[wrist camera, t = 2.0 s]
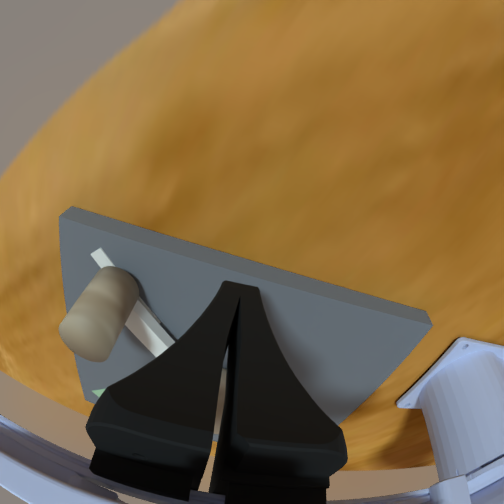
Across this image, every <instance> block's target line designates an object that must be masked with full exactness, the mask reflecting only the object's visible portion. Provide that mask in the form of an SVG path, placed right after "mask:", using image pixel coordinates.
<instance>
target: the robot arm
mask: <svg viewBox="0 0 504 504" xmlns="http://www.w3.org/2000/svg"><path fill="white" fill-rule="evenodd" d="M227 347H228V356H227V371H226V388H225V399H224V407H223V413H222V419H221V425H220V431H219V436H218V442H217V448H216V454H215V460H214V465H213V471H212V476H211V482H210V487H209V493H207V492H202V491H198V488H199V485H200V482H201V479H202V477H203V474H204V470H205V468H206V465H207V461H208V459H209V455H210V452H211V446H212V440H213V434H214V426H215V418H216V410H217V402H218V395H219V388H220V381H221V374H222V367H223V361H224V358H225V354H226V351H227ZM396 404H397V407H399V408H414V409H422V411H423V415H424V418H425V422H426V426H427V430H428V433H429V437H430V441H431V445H432V450H433V454H434V458H435V463H436V467H437V472H438V477H439V482H438V483H436V484H434V485H432V486H431V487H430V488H427V489H422V490H417V491H412V492H407V493H401V494H394V495H388V496H380V497H372V498H363V499H351V500H336V501H335V500H334V501H326V489H327V488H329V486H330V484H329V476H331V475H332V474H334V473H335V472H337V471H338V470H339V469H341V468H342V467H343V466H344V465H345V464H346V463H347V459H348V457H347V448H346V443H345V439H344V435H343V431H342V429H341V428H340V427H339V426H338V425H337V424H336V423H335V422H334V421H333V420H331V419H330V418H329V417H328V416H327V415H326V414H325V413H324V412H323V411H322V409H321V408H320V407H319V406H318V405H317V404H316V402H315V401H314V400H313V399H312V398H311V396H310V395H309V394H308V392H307V391H306V390H305V388H304V387H303V386H302V384H301V383H300V382H299V380H298V379H297V377H296V376H295V374H294V372H293V371H292V369H291V368H290V366H289V364H288V363H287V361H286V359H285V357H284V355H283V353H282V351H281V350H280V348H279V345H278V343H277V341H276V339H275V337H274V334H273V332H272V329H271V327H270V324H269V321H268V319H267V316H266V313H265V310H264V306H263V303H262V299H261V294H260V290H259V288H258V287H255V286H251V285H246V284H241V283H236V282H232V281H227V280H225V281H223V282H222V284H221V286H220V288H219V290H218V292H217V294H216V295H215V297H214V298H213V300H212V301H211V303H210V304H209V305H208V307H207V308H206V309H205V311H204V312H203V313H202V314H201V316H200V317H199V318H198V319H197V320H196V321H195V322H194V324H193V325H192V326H191V327H190V328H189V329H188V330H187V331H186V332H185V333H184V334H183V335H182V336H181V337H180V338H179V339H178V340H177V341H176V342H175V343H173V344H172V345H171V346H170V347H169V348H168V349H166V350H165V351H164V352H163V353H161V354H160V355H159V356H158V357H156V358H155V359H153V360H152V361H151V362H149V363H148V364H146V365H145V366H143V367H142V368H140V369H139V370H137V371H135V372H134V373H132V374H130V375H129V376H127V377H125V378H123V379H121V380H119V381H117V382H116V383H114V384H112V385H110V386H108V387H107V388H106V389H105V390H104V392H103V393H102V394H101V396H100V397H99V399H98V400H97V402H96V404H95V405H94V407H93V409H92V411H91V414H90V416H89V419H88V422H87V424H86V430H87V433H88V435H89V437H90V438H91V440H92V442H93V443H94V445H95V447H96V449H95V452H94V455H93V458H92V460H89V459H87V458H85V457H82V456H80V455H77V454H75V453H73V452H70V451H68V450H66V449H64V448H62V447H59V446H57V445H55V444H53V443H51V442H49V441H47V440H45V439H43V438H41V437H39V436H37V435H35V434H33V433H31V432H29V431H28V430H26V429H24V428H22V427H21V426H19V425H17V424H15V423H14V422H12V421H10V420H9V419H7V418H5V417H4V416H2V415H1V414H0V486H2V487H3V488H5V489H7V490H8V491H10V492H11V493H13V494H14V495H16V496H17V497H19V498H20V499H22V500H24V501H25V502H27V503H29V504H127V503H125V502H123V501H121V500H120V499H119V498H118V495H117V494H116V493H115V492H112V491H109V490H108V489H111V490H114V491H117V492H119V493H122V494H126V495H129V496H132V497H136V498H139V499H142V500H146V501H149V502H153V503H157V504H504V346H501V345H496V344H491V343H487V342H482V341H478V340H473V339H469V338H465V337H461V338H458V339H457V340H456V341H455V342H454V343H453V344H452V345H451V347H450V348H449V349H448V350H447V351H446V352H445V353H444V354H443V356H442V357H441V358H440V359H439V360H438V361H437V362H436V363H435V364H434V365H433V366H432V367H431V368H430V369H429V371H428V372H427V373H426V374H425V375H424V376H423V377H422V378H421V379H420V380H419V381H418V382H417V383H416V384H415V385H414V386H413V387H412V388H411V389H410V390H408V391H407V392H406V393H405V394H404V395H403V396H402V397H401V398H400V399H399V400H398V401H397V402H396ZM99 485H100V486H99ZM101 486H102V487H101ZM103 487H105V488H103ZM106 488H108V489H106Z"/></svg>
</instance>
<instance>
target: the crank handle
mask: <svg viewBox="0 0 504 504" xmlns="http://www.w3.org/2000/svg"><path fill="white" fill-rule="evenodd" d="M138 298H139V288H138V285H137V283H136V281H135V280H134V279H133V277H132V276H131V275H130V274H128V273H127V272H126V271H124V270H122V269H120V268H118V267H114V266H106V267H103V268H101V269H100V270H99V271H98V272H97V274H96V275H95V276H94V278H93V279H92V280H91V282H90V283H89V284H88V286H87V287H86V288H85V290H84V291H83V292H82V294H81V295H80V297H79V298H78V299H77V301H76V302H75V304H74V305H73V306H72V308H71V309H70V311H69V312H68V314H67V315H66V317H65V318H64V319H63V321H62V322H61V324H60V326H59V334H60V336H61V338H62V340H63V342H64V343H65V344H66V346H67V347H68V348H69V349H70V350H72V351H73V352H74V353H75V354H77V355H78V356H80V357H82V358H84V359H86V360H89V361H92V362H104V361H106V360H107V359H108V357H109V355H110V353H111V351H112V349H113V347H114V345H115V343H116V341H117V339H118V337H119V335H120V333H121V331H122V329H123V327H124V325H126V326H127V327H128V329H129V330H130V331H131V332H132V333H133V334H134V335H135V336H136V337H137V338H138V339H139V340H140V341H141V342H142V343H143V344H144V346H145V347H146V348H147V349H148V350H149V351H150V352H151V353H152V354H153V355H154V356H155V357H158V356H159V355H160V354H161V353H163V352H164V351H165V350H166V349H168V348H169V347H170V346H171V345H172V344H173V343H175V341H174V340H173V339H172V338H171V337H170V336H169V335H168V334H167V333H166V331H165V330H164V329H163V328H162V327H161V326H160V325H159V324H158V322H157V321H156V320H155V319H154V318H153V317H152V316H151V314H150V313H149V312H148V311H147V310H146V309H145V307H144V306H143V305H142V304H141V303H140V302H139V300H138ZM226 371H227V370H226V369H223V368H222V374H221V381H220V388H219V395H218V402H217V410H216V418H215V426H214V434H219V431H220V425H221V419H222V413H223V407H224V399H225V388H226Z"/></svg>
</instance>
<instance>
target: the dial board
mask: <svg viewBox="0 0 504 504" xmlns="http://www.w3.org/2000/svg"><path fill="white" fill-rule="evenodd" d="M59 234H60V253H61V266H62V277H63V287H64V295H65V303H66V310H67V314H68V312H69V311H70V309H71V308H72V306H73V305H74V304H75V302H76V301H77V299H78V298H79V297H80V295H81V294H82V292H83V291H84V290H85V288H86V287H87V286H88V284H89V283H90V282H91V280H92V279H93V278H94V276H95V275H96V274H97V272H98V271H99V270H100V269H101V268H103V267H106V266H114V267H118V268H120V269H122V270H124V271H126V272H127V273H128V274H130V275H131V276H132V277H133V279H134V280H135V281H136V283H137V285H138V288H139V298H138V300H139V302H140V303H141V304H142V305H143V306H144V307H145V309H146V310H147V311H148V312H149V313H150V314H151V316H152V317H153V318H154V319H155V320H156V321H157V322H158V324H159V325H160V326H161V327H162V328H163V329H164V330H165V331H166V333H167V334H168V335H169V336H170V337H171V338H172V339H173V340H174V341H175V342H176V341H177V340H178V339H179V338H180V337H181V336H182V335H183V334H184V333H185V332H186V331H187V330H188V329H189V328H190V327H191V326H192V325H193V324H194V322H195V321H196V320H197V319H198V318H199V317H200V316H201V314H202V313H203V312H204V311H205V309H206V308H207V307H208V305H209V304H210V303H211V301H212V300H213V298H214V297H215V295H216V294H217V292H218V290H219V288H220V286H221V284H222V282H223V281H225V280H227V281H232V282H236V283H241V284H246V285H251V286H255V287H258V288H259V290H260V294H261V299H262V303H263V306H264V310H265V313H266V316H267V319H268V321H269V324H270V327H271V329H272V332H273V334H274V337H275V339H276V341H277V343H278V345H279V348H280V350H281V351H282V353H283V355H284V357H285V359H286V361H287V363H288V364H289V366H290V368H291V369H292V371H293V372H294V374H295V376H296V377H297V379H298V380H299V382H300V383H301V384H302V386H303V387H304V388H305V390H306V391H307V392H308V394H309V395H310V396H311V398H312V399H313V400H314V401H315V402H316V404H317V405H318V406H319V407H320V408H321V409H322V411H323V412H324V413H325V414H326V415H327V416H328V417H329V418H330V419H331V420H333V421H334V422H335V423H336V424H337V425H339V424H340V423H341V422H342V421H343V420H345V419H346V418H347V417H348V416H349V415H350V414H351V413H352V412H353V411H354V410H355V409H357V408H358V407H359V406H360V405H361V404H362V403H363V402H364V401H365V400H366V399H367V398H368V397H369V396H370V395H371V394H372V393H373V392H374V391H375V390H376V389H377V388H378V387H379V386H380V385H381V384H382V383H383V382H384V381H385V380H386V379H387V378H388V377H389V376H390V375H391V374H392V372H393V371H394V370H395V369H396V368H397V367H398V366H399V365H400V364H401V363H402V362H403V360H404V359H405V358H406V357H407V356H408V355H409V354H410V352H411V351H412V350H413V349H414V348H415V347H416V345H417V344H418V343H419V342H420V341H421V340H422V338H423V337H424V336H425V335H426V333H427V332H428V331H429V330H430V328H431V327H432V326H433V325H432V323H431V320H430V318H429V316H428V314H427V312H426V311H423V310H420V309H416V308H413V307H409V306H406V305H402V304H399V303H395V302H392V301H388V300H385V299H381V298H378V297H374V296H371V295H367V294H364V293H360V292H357V291H353V290H350V289H346V288H343V287H340V286H336V285H333V284H329V283H326V282H322V281H319V280H316V279H312V278H309V277H305V276H302V275H298V274H295V273H292V272H288V271H285V270H281V269H278V268H275V267H271V266H268V265H264V264H261V263H258V262H254V261H251V260H248V259H244V258H241V257H238V256H234V255H231V254H227V253H224V252H221V251H217V250H214V249H211V248H207V247H204V246H201V245H197V244H194V243H191V242H187V241H184V240H181V239H177V238H174V237H171V236H168V235H164V234H161V233H158V232H154V231H151V230H148V229H145V228H141V227H138V226H135V225H131V224H128V223H125V222H122V221H118V220H115V219H112V218H109V217H105V216H102V215H99V214H96V213H92V212H89V211H86V210H83V209H79V208H76V207H73V206H71V207H70V208H69V209H67V210H66V211H65V212H64V213H62V214H61V215H60V216H59ZM74 355H75V360H76V364H77V369H78V373H79V377H80V381H81V385H82V389H83V393H84V396H85V400H87V401H89V402H91V403H94V404H96V402H97V400H98V399H99V397H100V396H101V394H102V393H103V392H104V390H105V389H106V388H107V387H108V386H110V385H112V384H114V383H116V382H117V381H119V380H121V379H123V378H125V377H127V376H129V375H130V374H132V373H134V372H135V371H137V370H139V369H140V368H142V367H143V366H145V365H146V364H148V363H149V362H151V361H152V360H153V359H155V358H156V357H155V356H154V355H153V354H152V353H151V352H150V351H149V350H148V349H147V348H146V347H145V346H144V344H143V343H142V342H141V341H140V340H139V339H138V338H137V337H136V336H135V335H134V334H133V333H132V332H131V331H130V330H129V329H128V327H127V326H126V325H124V327H123V329H122V331H121V333H120V335H119V337H118V339H117V341H116V343H115V345H114V347H113V349H112V351H111V353H110V355H109V357H108V359H107V360H106V361H104V362H92V361H89V360H86V359H84V358H82V357H80V356H78V355H77V354H75V353H74ZM227 356H228V347H227V351H226V354H225V358H224V361H223V367H222V368H223V369H226V370H227ZM218 436H219V434H213V440H212V441H216V442H218Z"/></svg>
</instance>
